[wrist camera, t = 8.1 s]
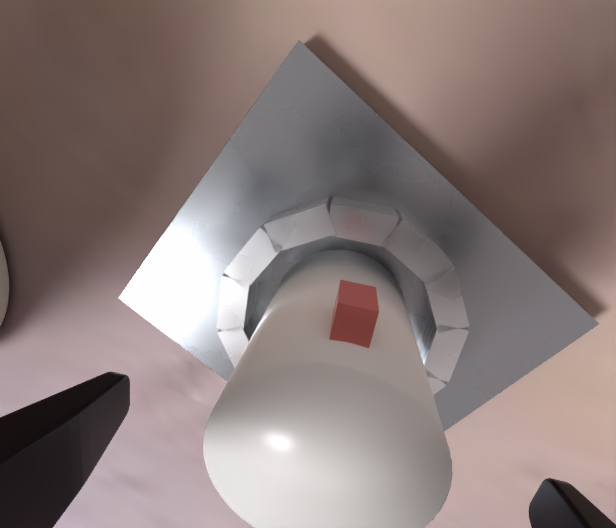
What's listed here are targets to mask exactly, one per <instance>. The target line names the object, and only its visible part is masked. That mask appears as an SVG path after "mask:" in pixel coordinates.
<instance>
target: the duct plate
mask: <svg viewBox="0 0 616 528" xmlns="http://www.w3.org/2000/svg"><path fill="white" fill-rule="evenodd" d="M334 249H338V250H350V251H355V252H358V253H362V254H364V255H367V256H369V257H371V258H373V259H374V260H376V261H378V262H379V263H380V264H382V265H383V266H384V267H385V268H386V269H387V270H388V271H389V272H390V273H391V274H392V275H393V277H394V278H395V279H396V281H397V283H398V285H399V286H400V289H401V291H402V294H403V297H404V301H405V304H406V307H407V311H408V314H409V317H410V321H411V324H412V327H413V331H414V334H415V337H416V340H417V344H418V347H419V350H420V354H421V357H422V360H423V364H424V367H425V370H426V374H427V377H428V380H429V384H430V387H431V390H432V394H433V397H434V400H435V404H436V407H437V410H438V414H439V417H440V420H441V424H442V427H443V430H444V431H445V430H447V429H448V428H450V427H451V426H452V425H454V424H455V423H457V422H458V421H460V420H461V419H463V418H464V417H465V416H467V415H468V414H470V413H471V412H473V411H474V410H476V409H477V408H478V407H480V406H481V405H483V404H484V403H486V402H487V401H489V400H490V399H491V398H493V397H494V396H496V395H497V394H499V393H500V392H502V391H503V390H504V389H506V388H507V387H509V386H510V385H512V384H513V383H515V382H516V381H517V380H519V379H520V378H522V377H523V376H525V375H526V374H528V373H529V372H530V371H532V370H533V369H535V368H536V367H538V366H539V365H541V364H542V363H543V362H545V361H546V360H548V359H549V358H551V357H552V356H554V355H555V354H556V353H558V352H559V351H561V350H562V349H564V348H565V347H567V346H568V345H569V344H571V343H572V342H574V341H575V340H577V339H578V338H580V337H581V336H582V335H584V334H585V333H587V332H588V331H590V330H591V329H593V328H594V327H595V326H597V325H598V324H599V323H598V322H597V321H596V320H594V319H593V318H592V317H591V316H590V315H589V314H588V313H587V312H586V311H585V310H584V309H583V308H582V307H581V306H580V305H579V304H578V303H576V302H575V301H574V300H573V299H572V298H571V297H570V296H569V295H568V294H567V293H566V292H565V291H564V290H563V289H562V288H561V287H560V286H559V285H557V284H556V283H555V282H554V281H553V280H552V279H551V278H550V277H549V276H548V275H547V274H546V273H545V272H544V271H543V270H542V269H541V268H539V267H538V266H537V265H536V264H535V263H534V262H533V261H532V260H531V259H530V258H529V257H528V256H527V255H526V254H525V253H524V252H523V251H522V250H520V249H519V248H518V247H517V246H516V245H515V244H514V243H513V242H512V241H511V240H510V239H509V238H508V237H507V236H506V235H505V234H504V233H503V232H501V231H500V230H499V229H498V228H497V227H496V226H495V225H494V224H493V223H492V222H491V221H490V220H489V219H488V218H487V217H486V216H485V215H483V214H482V213H481V212H480V211H479V210H478V209H477V208H476V207H475V206H474V205H473V204H472V203H471V202H470V201H469V200H468V199H467V198H466V197H464V196H463V195H462V194H461V193H460V192H459V191H458V190H457V189H456V188H455V187H454V186H453V185H452V184H451V183H450V182H449V181H448V180H447V179H445V178H444V177H443V176H442V175H441V174H440V173H439V172H438V171H437V170H436V169H435V168H434V167H433V166H432V165H431V164H430V163H429V162H427V161H426V160H425V159H424V158H423V157H422V156H421V155H420V154H419V153H418V152H417V151H416V150H415V149H414V148H413V147H412V146H411V145H410V144H408V143H407V142H406V141H405V140H404V139H403V138H402V137H401V136H400V135H399V134H398V133H397V132H396V131H395V130H394V129H393V128H392V127H391V126H389V125H388V124H387V123H386V122H385V121H384V120H383V119H382V118H381V117H380V116H379V115H378V114H377V113H376V112H375V111H374V110H373V109H371V108H370V107H369V106H368V105H367V104H366V103H365V102H364V101H363V100H362V99H361V98H360V97H359V96H358V95H357V94H356V93H355V92H354V91H352V90H351V89H350V88H349V87H348V86H347V85H346V84H345V83H344V82H343V81H342V80H341V79H340V78H339V77H338V76H337V75H336V74H335V73H333V72H332V71H331V70H330V69H329V68H328V67H327V66H326V65H325V64H324V63H323V62H322V61H321V60H320V59H319V58H318V57H317V56H315V55H314V54H313V53H312V52H311V51H310V50H309V49H308V48H307V47H306V46H305V45H304V44H303V43H302V42H301V41H300V40H299V41H298V42H297V43H296V45H295V46H294V48H293V49H292V51H291V52H290V53H289V55H288V56H287V58H286V59H285V61H284V62H283V63H282V65H281V66H280V68H279V69H278V71H277V72H276V74H275V75H274V76H273V78H272V79H271V81H270V82H269V84H268V85H267V86H266V88H265V89H264V91H263V92H262V94H261V95H260V96H259V98H258V99H257V101H256V102H255V104H254V105H253V106H252V108H251V109H250V111H249V112H248V114H247V115H246V116H245V118H244V119H243V121H242V122H241V124H240V125H239V126H238V128H237V129H236V131H235V132H234V134H233V135H232V137H231V138H230V139H229V141H228V142H227V144H226V145H225V147H224V148H223V149H222V151H221V152H220V154H219V155H218V157H217V158H216V159H215V161H214V162H213V164H212V165H211V167H210V168H209V169H208V171H207V172H206V174H205V175H204V177H203V178H202V179H201V181H200V182H199V184H198V185H197V187H196V188H195V189H194V191H193V192H192V194H191V195H190V197H189V198H188V200H187V201H186V202H185V204H184V205H183V207H182V208H181V210H180V211H179V212H178V214H177V215H176V217H175V218H174V220H173V221H172V222H171V224H170V225H169V227H168V228H167V230H166V231H165V232H164V234H163V235H162V237H161V238H160V240H159V241H158V242H157V244H156V245H155V247H154V248H153V250H152V251H151V252H150V254H149V255H148V257H147V258H146V260H145V261H144V262H143V264H142V265H141V267H140V268H139V270H138V271H137V273H136V274H135V275H134V277H133V278H132V280H131V281H130V283H129V284H128V285H127V287H126V288H125V290H124V291H123V293H122V294H121V295H120V297H119V299H121V300H122V301H123V302H124V303H126V304H127V305H128V306H130V307H131V308H132V309H134V310H135V311H136V312H138V313H139V314H140V315H141V316H143V317H144V318H145V319H147V320H148V321H149V322H151V323H152V324H153V325H154V326H156V327H157V328H158V329H160V330H161V331H162V332H164V333H165V334H166V335H167V336H169V337H170V338H171V339H173V340H174V341H175V342H177V343H178V344H179V345H180V346H182V347H183V348H184V349H186V350H187V351H188V352H190V353H191V354H192V355H194V356H195V357H196V358H197V359H199V360H200V361H201V362H203V363H204V364H205V365H207V366H208V367H209V368H210V369H212V370H213V371H214V372H216V373H217V374H218V375H220V376H221V377H222V378H223V379H225V380H226V381H227V382H228V381H229V379H230V377H231V375H232V373H233V371H234V369H235V367H236V366H237V364H238V362H239V360H240V358H241V356H242V354H243V352H244V351H245V349H246V347H247V345H248V343H249V341H250V339H251V337H252V336H253V334H254V332H255V330H256V328H257V326H258V324H259V322H260V321H261V319H262V317H263V315H264V313H265V311H266V309H267V307H268V306H269V304H270V302H271V300H272V298H273V296H274V294H275V292H276V290H277V289H278V287H279V285H280V283H281V281H282V279H283V278H284V276H285V275H286V273H287V272H288V271H289V270H290V269H291V268H292V267H293V266H294V265H295V264H296V263H298V262H299V261H300V260H302V259H304V258H305V257H307V256H309V255H312V254H314V253H317V252H321V251H325V250H334Z"/></svg>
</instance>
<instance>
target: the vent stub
mask: <svg viewBox="0 0 616 528" xmlns="http://www.w3.org/2000/svg"><path fill="white" fill-rule="evenodd" d="M203 453H204V460H205V464H206V468H207V471H208V474H209V476H210V478H211V481H212V483H213V485H214V487H215V488H216V490H217V491H218V493H219V494H220V496H221V497H222V498H223V500H224V501H225V502H226V503H227V504H228V506H229V507H230V508H231V509H232V510H233V511H234V512H235V513H236V514H238V515H239V516H240V517H241V518H242V519H244V520H245V521H246V522H247V523H249V524H250V525H252V526H253V527H255V528H424V527H425V526H426V525H428V524H429V523H430V522H431V521H432V520H433V519H434V517H435V516H436V515H437V514H438V512H439V511H440V510H441V508H442V506H443V504H444V502H445V501H446V498H447V496H448V493H449V490H450V486H451V480H452V460H451V456H450V451H449V447H448V444H447V440H446V437H445V434H444V430H443V427H442V424H441V420H440V417H439V414H438V410H437V407H436V404H435V400H434V397H433V394H432V390H431V387H430V384H429V380H428V377H427V374H426V370H425V367H424V364H423V360H422V357H421V354H420V350H419V347H418V344H417V340H416V337H415V334H414V331H413V327H412V324H411V321H410V317H409V314H408V311H407V307H406V304H405V301H404V297H403V294H402V291H401V289H400V286H399V285H398V283H397V281H396V279H395V278H394V277H393V275H392V274H391V273H390V272H389V271H388V270H387V269H386V268H385V267H384V266H383V265H382V264H380V263H379V262H378V261H376V260H374V259H373V258H371V257H369V256H367V255H364V254H362V253H358V252H355V251H350V250H338V249H334V250H325V251H321V252H317V253H314V254H312V255H309V256H307V257H305V258H304V259H302V260H300V261H299V262H298V263H296V264H295V265H294V266H293V267H292V268H291V269H290V270H289V271H288V272H287V273H286V275H285V276H284V278H283V279H282V281H281V283H280V285H279V287H278V289H277V290H276V292H275V294H274V296H273V298H272V300H271V302H270V304H269V306H268V307H267V309H266V311H265V313H264V315H263V317H262V319H261V321H260V322H259V324H258V326H257V328H256V330H255V332H254V334H253V336H252V337H251V339H250V341H249V343H248V345H247V347H246V349H245V351H244V352H243V354H242V356H241V358H240V360H239V362H238V364H237V366H236V367H235V369H234V371H233V373H232V375H231V377H230V379H229V381H228V383H227V384H226V386H225V388H224V390H223V392H222V394H221V396H220V398H219V399H218V401H217V403H216V405H215V407H214V409H213V411H212V413H211V414H210V416H209V419H208V422H207V425H206V427H205V433H204V438H203Z"/></svg>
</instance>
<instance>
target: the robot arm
mask: <svg viewBox="0 0 616 528" xmlns="http://www.w3.org/2000/svg"><path fill="white" fill-rule="evenodd" d="M129 406H130V380H129V377H128V376H127V375H124V374H120V373H116V372H107V373H104V374H102V375H100V376H97V377H95V378H93V379H90V380H88V381H85V382H83V383H81V384H78V385H76V386H74V387H71V388H69V389H67V390H64V391H62V392H59V393H57V394H55V395H52V396H50V397H48V398H45V399H43V400H40V401H38V402H36V403H33V404H31V405H29V406H26V407H24V408H22V409H19V410H17V411H14V412H12V413H10V414H7V415H5V416H3V417H0V528H53V527H54V525H55V524H56V522H57V521H58V520H59V518H60V517H61V516H62V514H63V513H64V512H65V510H66V509H67V507H68V506H69V505H70V503H71V502H72V501H73V499H74V498H75V497H76V495H77V494H78V492H79V491H80V490H81V488H82V487H83V485H84V484H85V482H86V481H87V479H88V478H89V476H90V474H91V473H92V471H93V470H94V468H95V466H96V465H97V463H98V461H99V460H100V458H101V456H102V455H103V453H104V451H105V450H106V448H107V446H108V445H109V443H110V441H111V440H112V438H113V436H114V435H115V433H116V431H117V430H118V428H119V427H120V425H121V423H122V422H123V420H124V418H125V417H126V415H127V413H128V410H129ZM529 518H530V523H531V527H532V528H616V525H615V524H614V523H613V522H612V521H611V520H610V519H609V518H608V517H607V516H606V515H604V514H603V513H602V512H601V511H600V510H599V509H598V508H597V507H596V506H594V505H593V504H592V503H591V502H590V501H589V500H588V499H587V498H586V497H585V496H583V495H582V494H581V493H580V492H579V491H578V490H577V489H576V488H575V487H573V486H572V485H571V484H569V483H567V482H564V481H560V480H555V479H551V478H547V479H545V480H544V481H543V482H542V484H541V485H540V487H539V489H538V491H537V492H536V494H535V496H534V497H533V499H532V501H531V503H530V506H529Z"/></svg>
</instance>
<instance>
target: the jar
mask: <svg viewBox="0 0 616 528" xmlns="http://www.w3.org/2000/svg"><path fill="white" fill-rule="evenodd" d="M8 299H9V276H8V268H7V263H6V258H5V254H4V250H3V247H2V244H1V241H0V326H1V324H2V322H3V320H4V317H5V314H6V310H7V306H8Z"/></svg>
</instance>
